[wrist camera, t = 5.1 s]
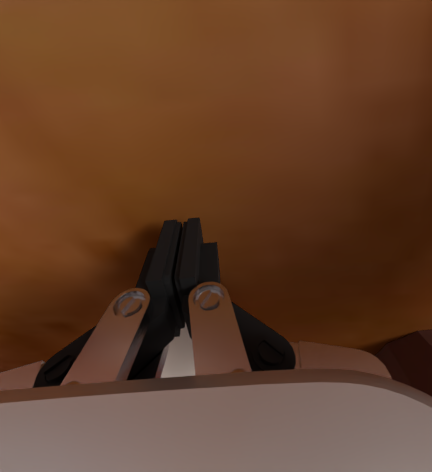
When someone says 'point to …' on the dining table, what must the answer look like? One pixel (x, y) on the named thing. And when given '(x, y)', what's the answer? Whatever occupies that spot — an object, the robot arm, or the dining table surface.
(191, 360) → the cue ball
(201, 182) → the dining table surface
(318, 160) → the dining table surface
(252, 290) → the dining table surface
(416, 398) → the robot arm
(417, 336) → the muffin
